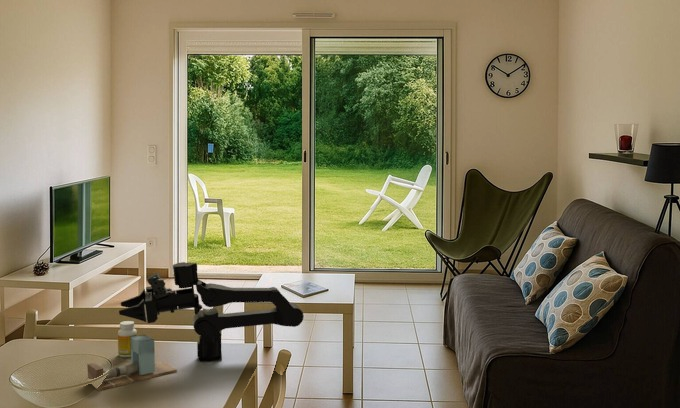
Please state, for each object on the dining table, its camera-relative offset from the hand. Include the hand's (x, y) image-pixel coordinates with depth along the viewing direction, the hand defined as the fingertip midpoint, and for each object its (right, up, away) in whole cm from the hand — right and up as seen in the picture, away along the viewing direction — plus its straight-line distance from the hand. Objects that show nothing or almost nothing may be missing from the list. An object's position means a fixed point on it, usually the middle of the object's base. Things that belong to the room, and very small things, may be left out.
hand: (120, 308), depth 192 cm
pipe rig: (+6, -17, -8) cm, 20 cm away
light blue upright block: (+8, -17, -6) cm, 20 cm away
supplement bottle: (-1, -15, +10) cm, 19 cm away
